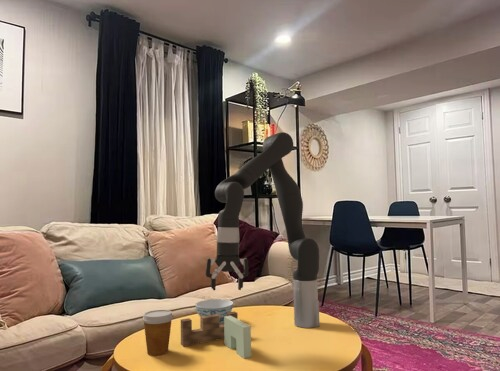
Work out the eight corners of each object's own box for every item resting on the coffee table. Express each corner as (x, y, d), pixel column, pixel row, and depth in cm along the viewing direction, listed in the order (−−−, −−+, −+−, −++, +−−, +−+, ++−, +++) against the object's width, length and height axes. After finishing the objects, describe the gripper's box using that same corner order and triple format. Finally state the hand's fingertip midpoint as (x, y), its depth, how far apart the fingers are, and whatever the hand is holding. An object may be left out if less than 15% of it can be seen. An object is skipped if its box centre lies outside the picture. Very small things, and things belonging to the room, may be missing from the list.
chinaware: (204, 331, 137) (204, 310, 137) (190, 321, 150) (190, 302, 150) (240, 324, 144) (239, 304, 145) (223, 316, 157) (223, 297, 158)
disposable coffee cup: (179, 349, 119) (179, 310, 120) (160, 359, 110) (160, 318, 111) (155, 345, 123) (155, 308, 124) (135, 355, 114) (135, 315, 115)
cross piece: (224, 344, 122) (224, 316, 123) (231, 343, 123) (230, 315, 124) (243, 358, 110) (243, 327, 111) (251, 356, 111) (250, 326, 112)
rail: (234, 334, 133) (234, 311, 133) (237, 336, 130) (237, 312, 131) (180, 344, 123) (180, 319, 124) (183, 346, 121) (182, 321, 122)
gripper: (246, 240, 130) (245, 287, 128) (206, 240, 128) (204, 288, 126) (250, 241, 123) (249, 291, 121) (207, 241, 120) (206, 292, 119)
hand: (226, 289), depth 124 cm, fingers open, 8 cm apart
